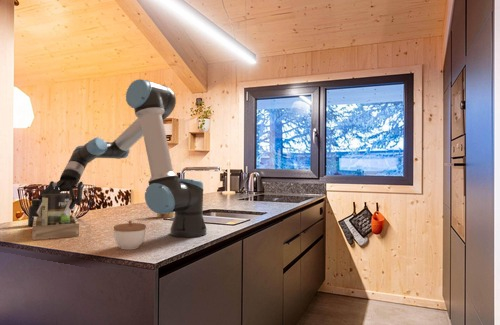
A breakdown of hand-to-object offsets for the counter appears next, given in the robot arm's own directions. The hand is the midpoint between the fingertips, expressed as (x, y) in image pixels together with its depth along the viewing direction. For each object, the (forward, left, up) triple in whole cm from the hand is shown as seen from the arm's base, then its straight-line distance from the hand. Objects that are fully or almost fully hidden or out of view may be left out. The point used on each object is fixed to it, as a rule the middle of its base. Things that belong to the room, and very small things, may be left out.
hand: (52, 214), depth 143 cm
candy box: (+31, -56, -9) cm, 64 cm away
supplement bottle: (+29, +5, -9) cm, 31 cm away
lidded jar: (-33, -24, -9) cm, 41 cm away
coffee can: (+3, -2, -6) cm, 7 cm away
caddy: (+8, -2, -8) cm, 12 cm away
